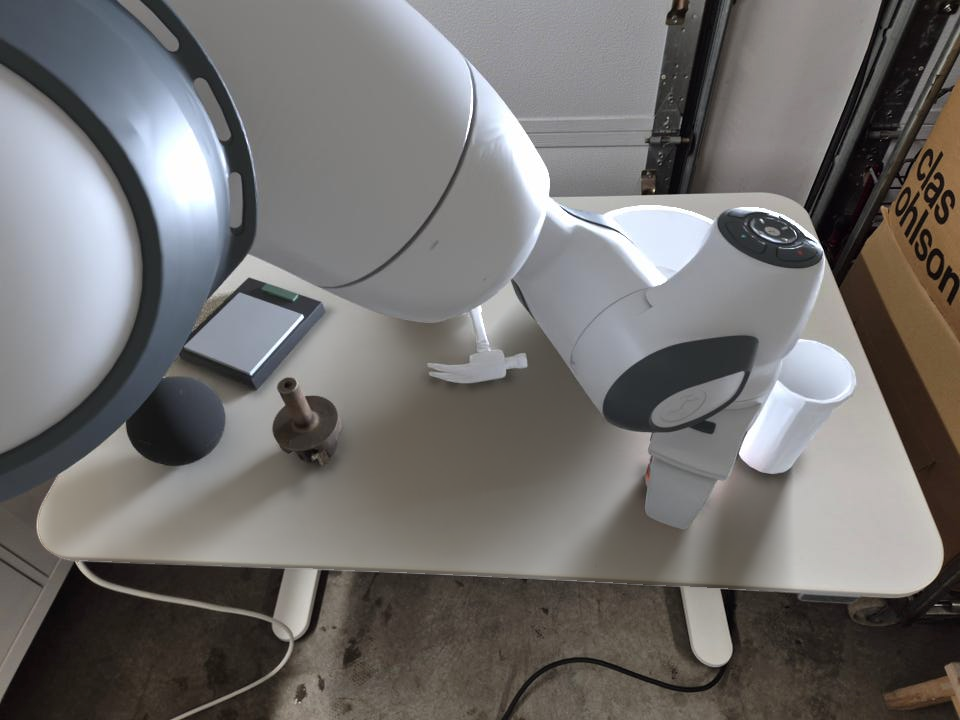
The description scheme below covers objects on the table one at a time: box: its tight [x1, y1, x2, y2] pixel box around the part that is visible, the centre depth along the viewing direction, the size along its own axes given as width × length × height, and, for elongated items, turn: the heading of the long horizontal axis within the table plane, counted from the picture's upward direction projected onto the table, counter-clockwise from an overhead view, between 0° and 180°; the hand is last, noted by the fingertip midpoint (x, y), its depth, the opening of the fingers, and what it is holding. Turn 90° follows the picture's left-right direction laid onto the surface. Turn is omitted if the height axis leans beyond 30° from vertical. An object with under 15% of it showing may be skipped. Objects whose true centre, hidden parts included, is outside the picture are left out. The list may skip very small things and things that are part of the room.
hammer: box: [426, 304, 528, 384], centre depth 84 cm, size 12×30×3 cm, turn 10°
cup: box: [738, 338, 858, 475], centre depth 62 cm, size 8×8×14 cm
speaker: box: [125, 375, 227, 467], centre depth 68 cm, size 10×10×10 cm
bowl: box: [602, 205, 714, 280], centre depth 80 cm, size 22×22×8 cm
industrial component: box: [271, 376, 342, 466], centre depth 66 cm, size 9×7×12 cm
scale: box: [178, 277, 326, 391], centre depth 82 cm, size 15×13×3 cm
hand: (681, 463), depth 63 cm, fingers closed on pill bottle, 6 cm apart
